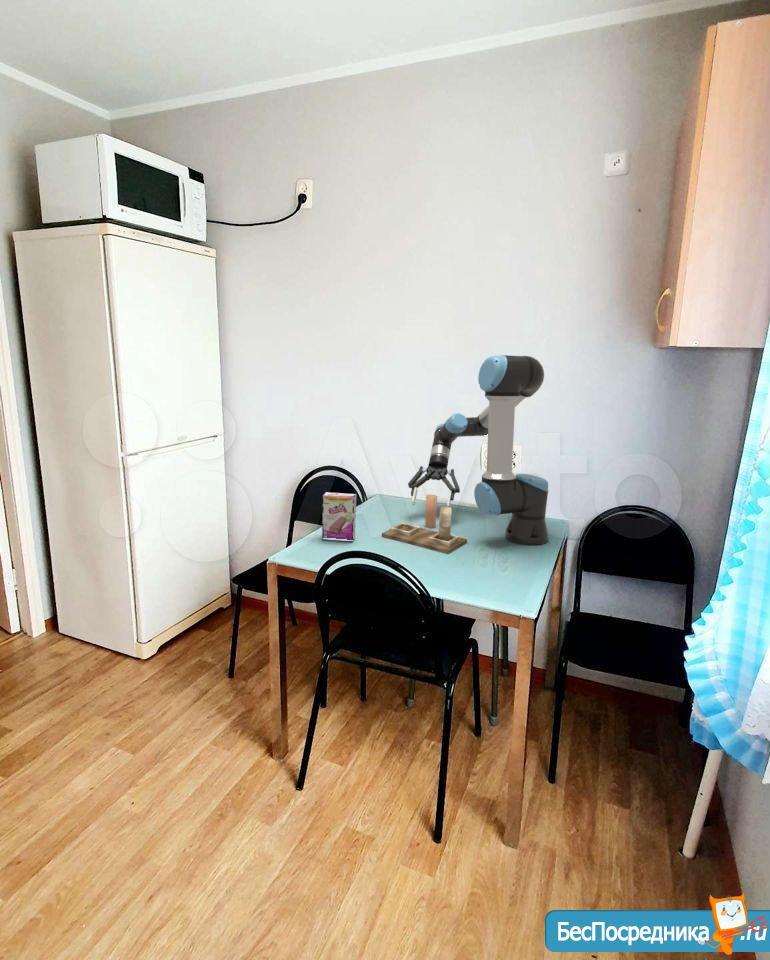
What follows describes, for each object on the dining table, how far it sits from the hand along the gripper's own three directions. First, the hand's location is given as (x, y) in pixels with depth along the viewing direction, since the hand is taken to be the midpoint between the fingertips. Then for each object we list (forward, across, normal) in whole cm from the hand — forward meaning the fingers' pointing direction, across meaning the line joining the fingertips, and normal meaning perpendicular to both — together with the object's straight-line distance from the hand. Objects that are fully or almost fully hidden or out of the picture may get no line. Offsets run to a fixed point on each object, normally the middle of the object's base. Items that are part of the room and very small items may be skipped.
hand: (430, 505), depth 214 cm
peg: (+7, -1, -4) cm, 8 cm away
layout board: (+18, -1, +7) cm, 19 cm away
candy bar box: (+25, +27, +14) cm, 40 cm away
